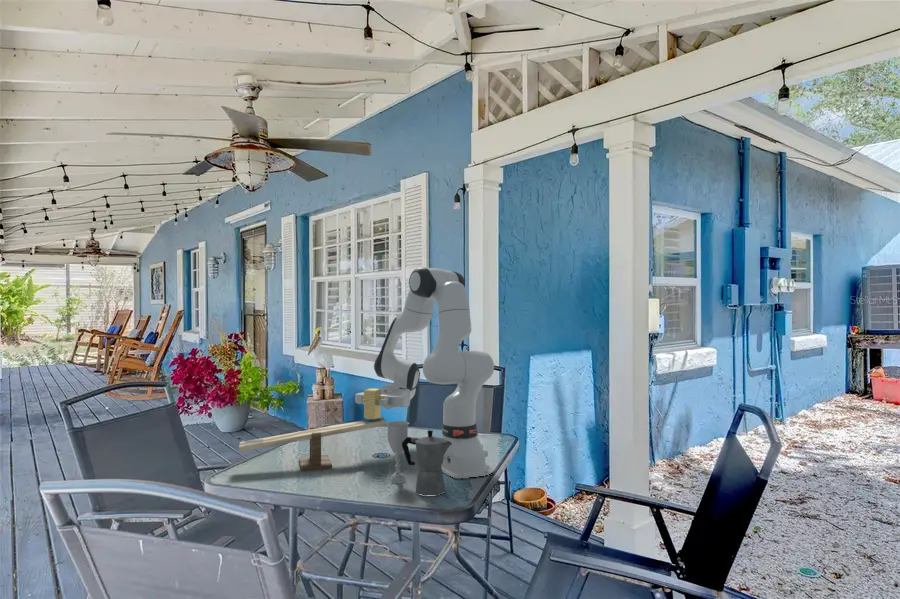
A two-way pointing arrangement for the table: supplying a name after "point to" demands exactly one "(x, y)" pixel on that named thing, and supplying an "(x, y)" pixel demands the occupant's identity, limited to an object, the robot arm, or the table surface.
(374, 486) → the table surface
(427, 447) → the coffeepot
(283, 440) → the balance beam
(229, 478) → the table surface
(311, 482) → the table surface
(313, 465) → the beam stand
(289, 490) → the table surface
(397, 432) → the chalice
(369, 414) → the tall olive textured block
